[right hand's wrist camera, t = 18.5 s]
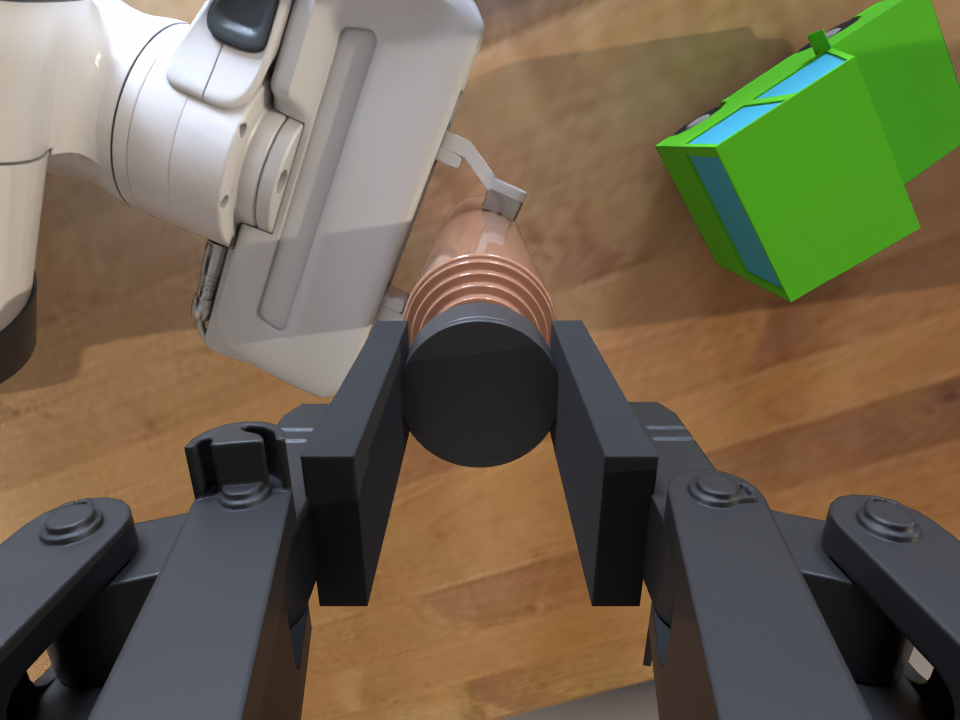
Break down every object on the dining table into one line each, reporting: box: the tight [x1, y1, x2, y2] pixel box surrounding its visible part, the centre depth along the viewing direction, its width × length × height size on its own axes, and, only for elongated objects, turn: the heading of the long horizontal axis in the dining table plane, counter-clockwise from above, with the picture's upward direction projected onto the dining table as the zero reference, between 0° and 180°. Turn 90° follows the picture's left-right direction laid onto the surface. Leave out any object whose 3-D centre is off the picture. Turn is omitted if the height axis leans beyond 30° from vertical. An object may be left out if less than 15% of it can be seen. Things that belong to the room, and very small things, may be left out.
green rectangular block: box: [655, 0, 960, 302], centre depth 28 cm, size 10×13×10 cm
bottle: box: [403, 196, 557, 351], centre depth 24 cm, size 5×5×23 cm
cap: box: [401, 303, 558, 468], centre depth 14 cm, size 4×4×2 cm
